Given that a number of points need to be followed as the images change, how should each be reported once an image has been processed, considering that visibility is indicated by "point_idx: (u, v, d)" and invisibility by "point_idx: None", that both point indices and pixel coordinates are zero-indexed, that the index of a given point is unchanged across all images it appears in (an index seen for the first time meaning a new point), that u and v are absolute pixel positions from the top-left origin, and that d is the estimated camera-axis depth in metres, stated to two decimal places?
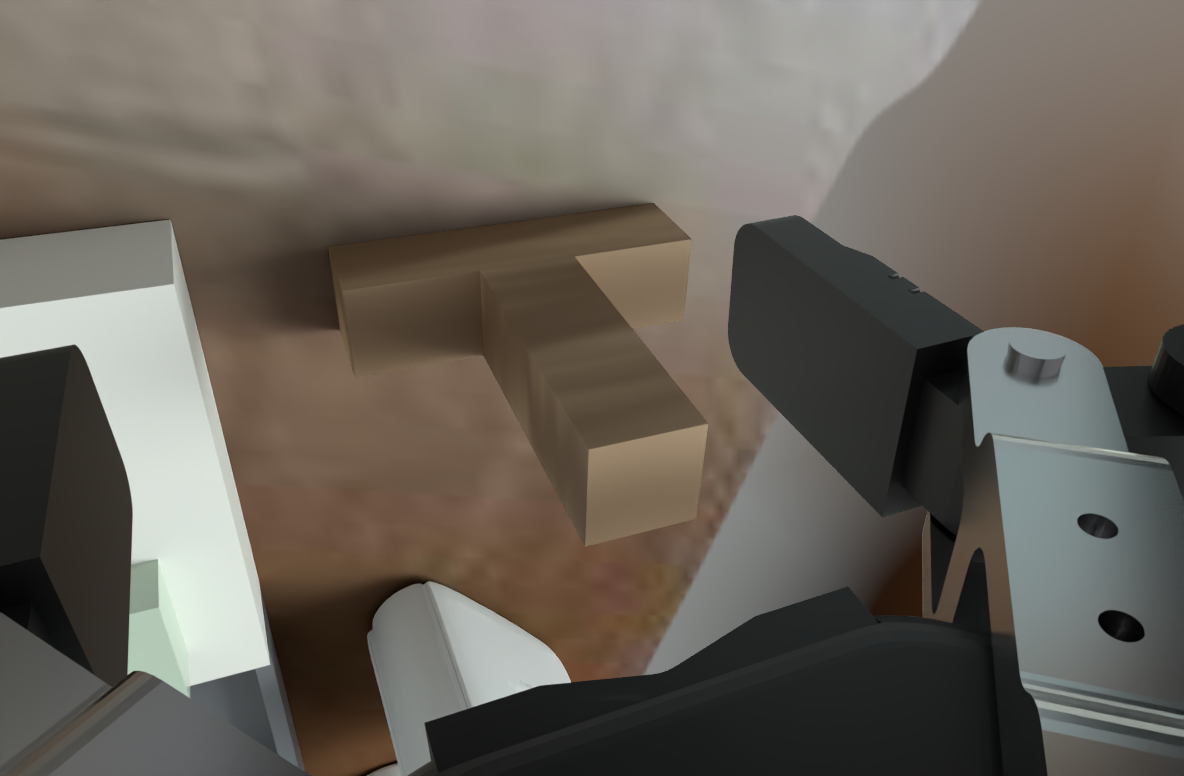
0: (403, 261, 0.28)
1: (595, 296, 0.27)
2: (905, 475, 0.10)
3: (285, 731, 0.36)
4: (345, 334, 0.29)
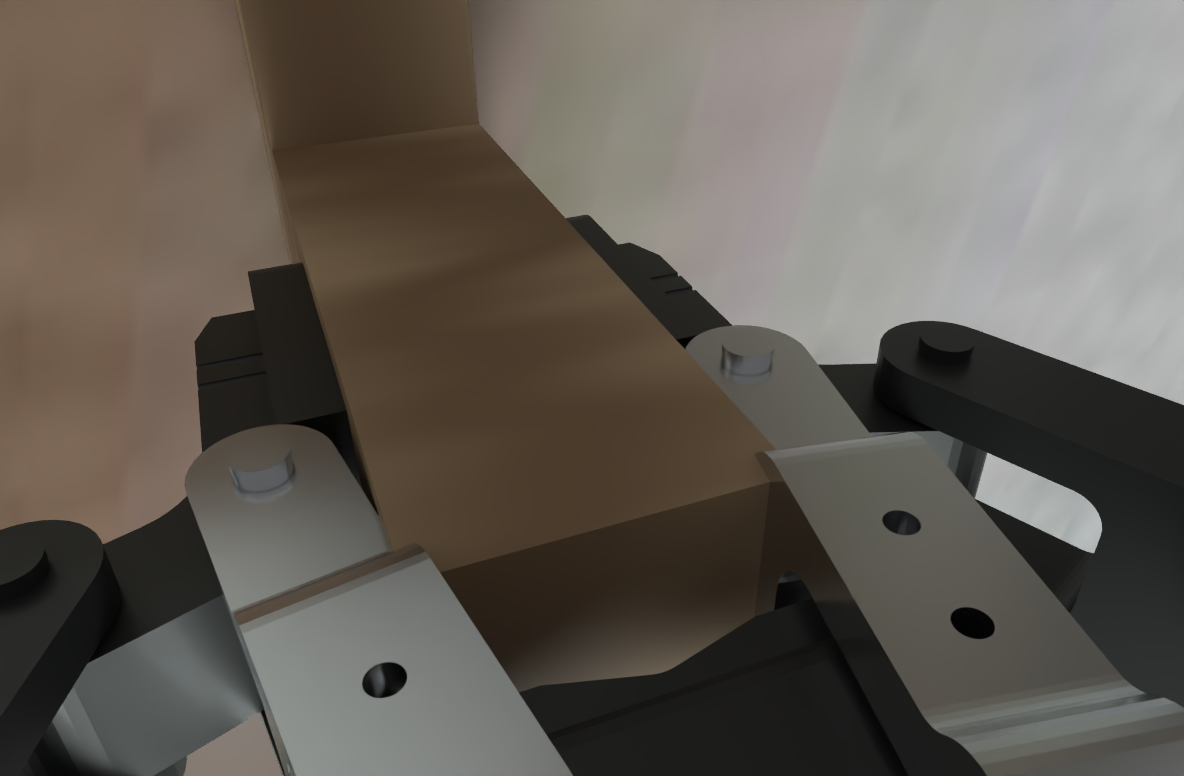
0: None
1: None
2: None
3: None
4: None
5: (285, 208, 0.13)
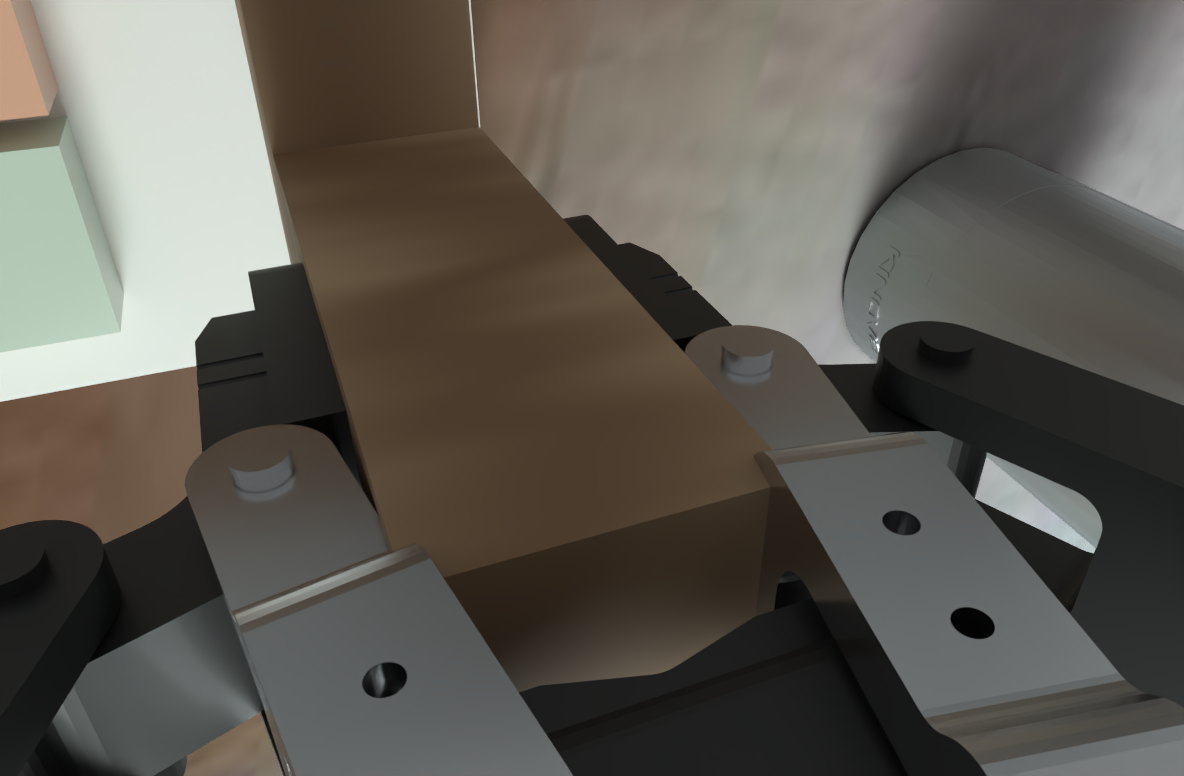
0: None
1: None
2: None
3: None
4: None
5: (286, 212, 0.13)
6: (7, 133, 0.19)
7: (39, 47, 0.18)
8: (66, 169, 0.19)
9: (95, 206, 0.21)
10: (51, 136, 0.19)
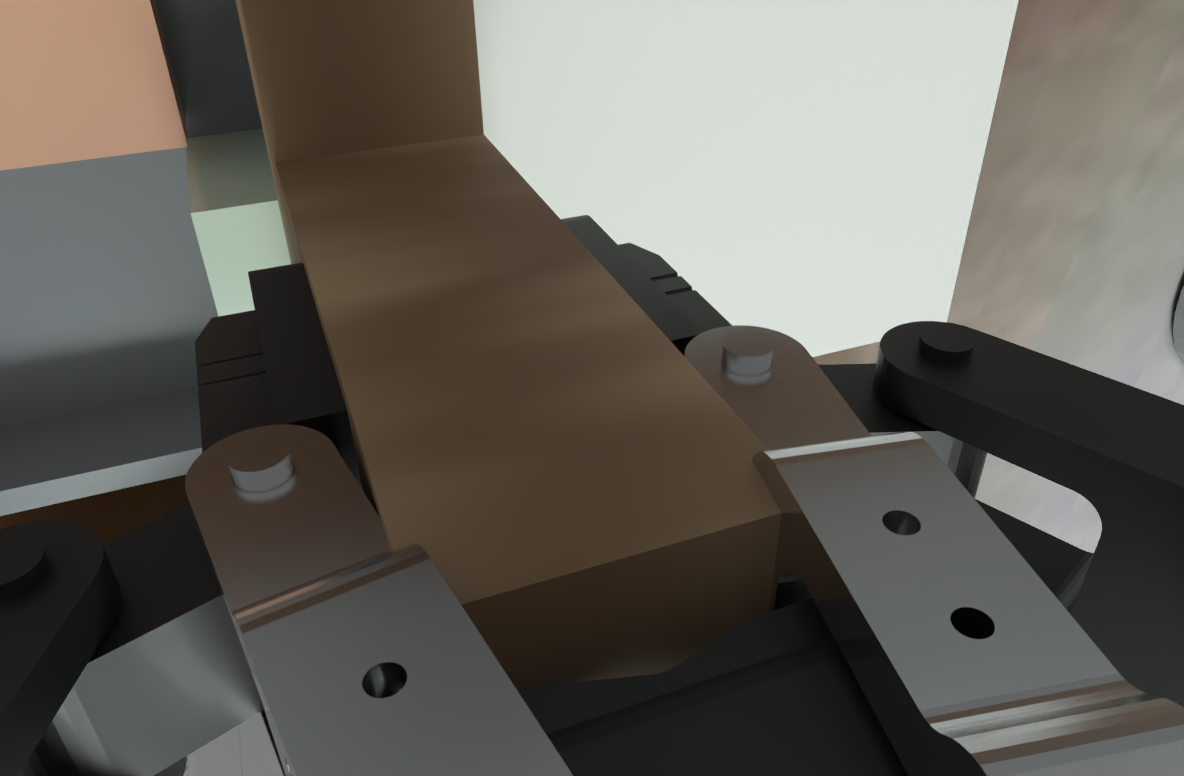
0: None
1: None
2: None
3: (166, 472, 0.20)
4: None
5: (288, 220, 0.13)
6: (257, 182, 0.17)
7: None
8: (201, 239, 0.16)
9: None
10: (232, 203, 0.16)
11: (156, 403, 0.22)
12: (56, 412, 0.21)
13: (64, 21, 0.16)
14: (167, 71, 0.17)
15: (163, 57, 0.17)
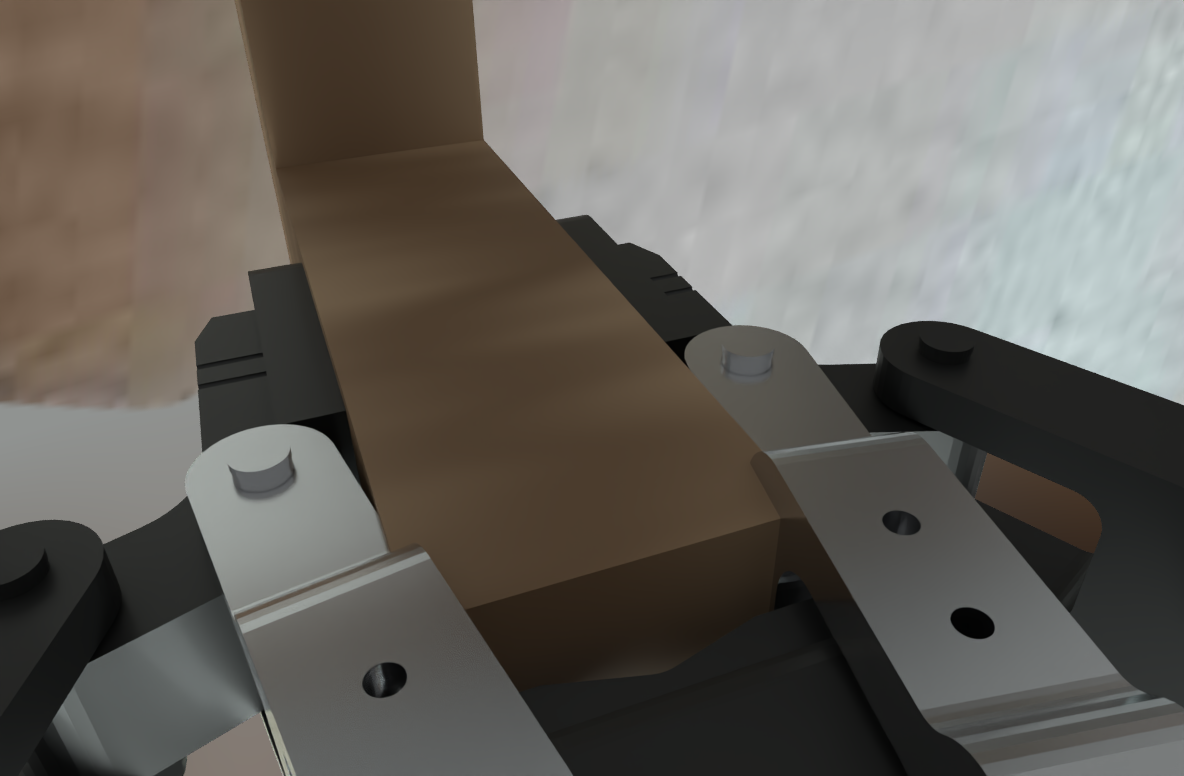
0: None
1: None
2: None
3: None
4: None
5: (289, 226, 0.13)
6: None
7: None
8: None
9: None
10: None
11: None
12: None
13: None
14: None
15: None
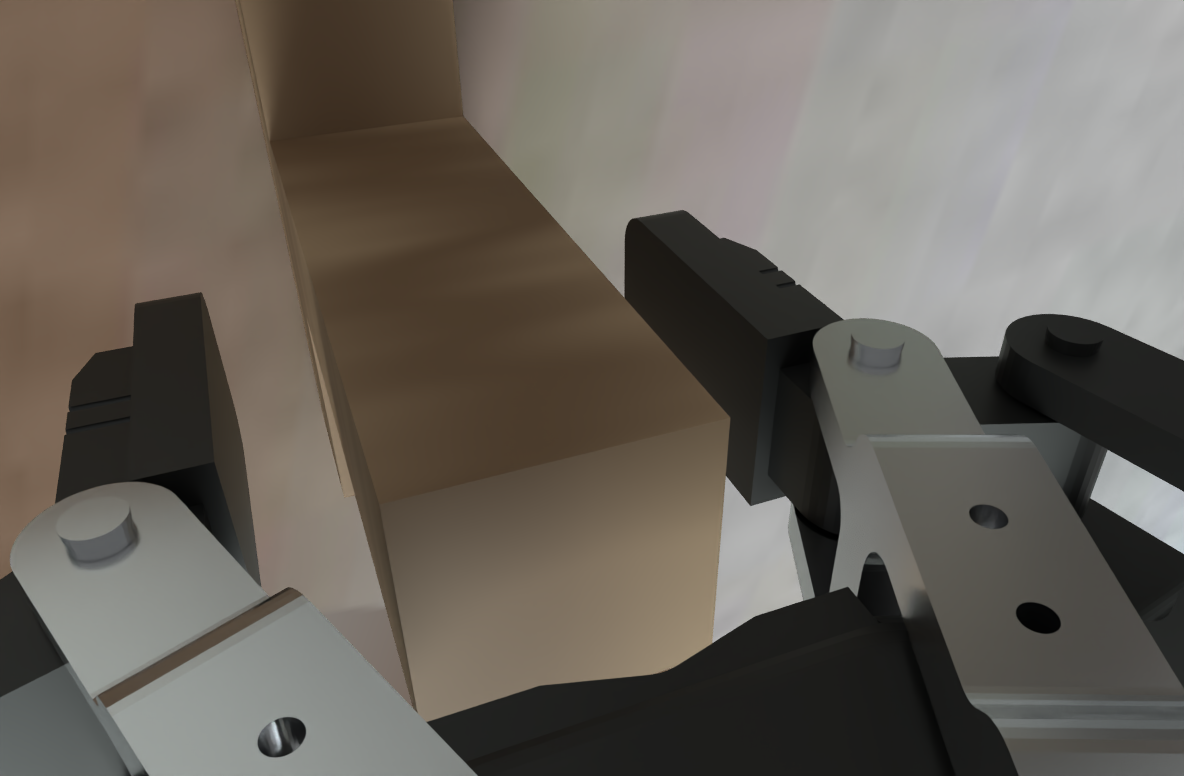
0: None
1: None
2: (768, 464, 0.10)
3: None
4: None
5: (282, 194, 0.14)
6: None
7: None
8: None
9: None
10: None
11: None
12: None
13: None
14: None
15: None
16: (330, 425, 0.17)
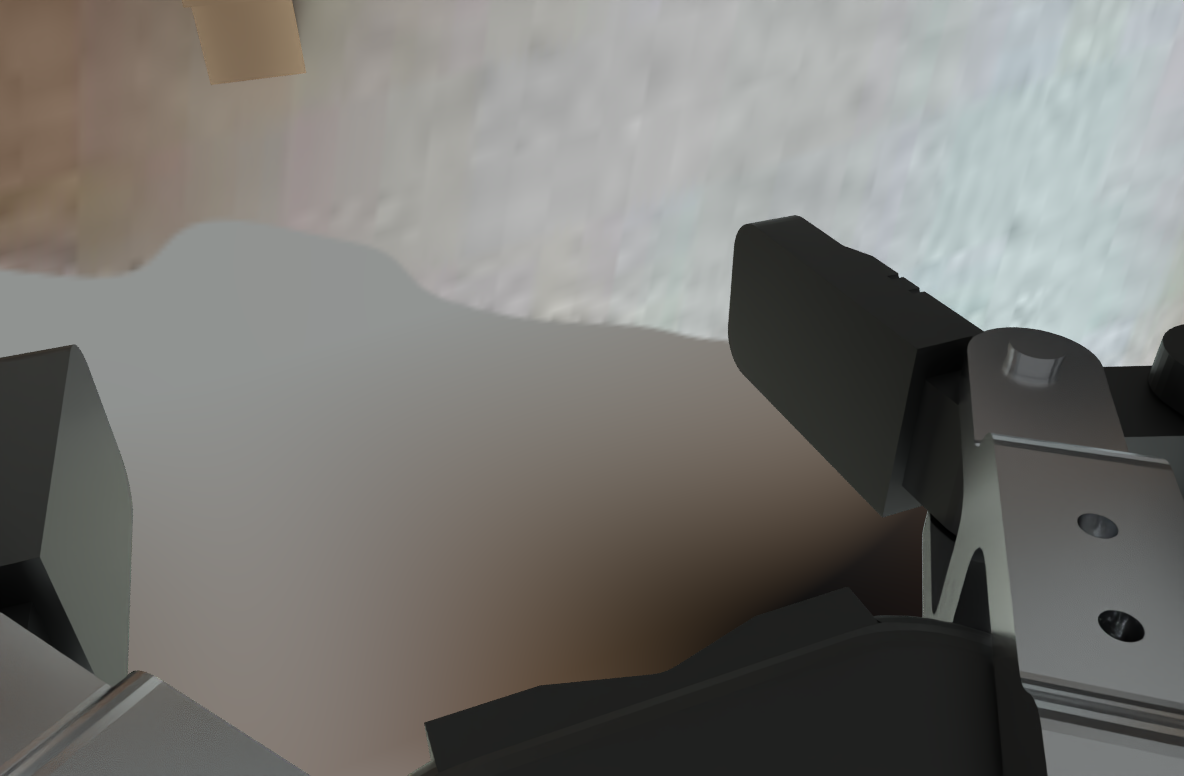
0: None
1: None
2: (905, 475, 0.10)
3: None
4: None
5: None
6: None
7: None
8: None
9: None
10: None
11: None
12: None
13: None
14: None
15: None
16: (197, 29, 0.29)
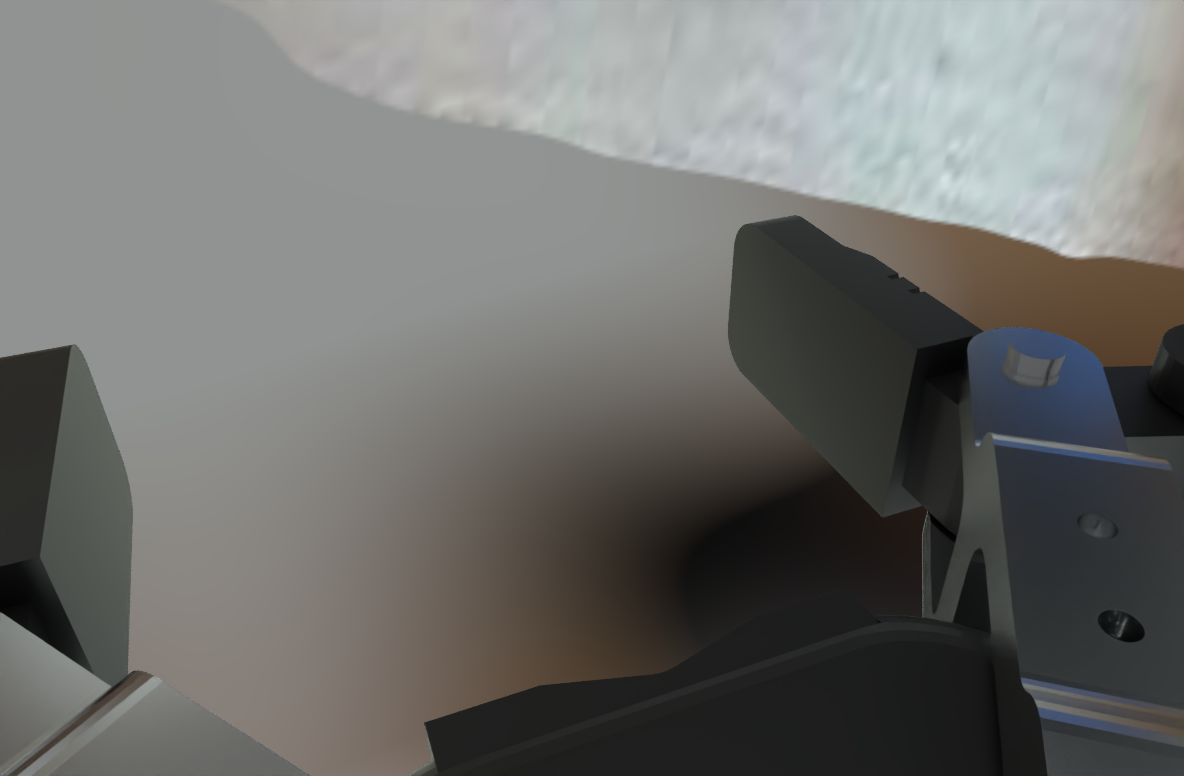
0: None
1: None
2: (905, 475, 0.10)
3: None
4: None
5: None
6: None
7: None
8: None
9: None
10: None
11: None
12: None
13: None
14: None
15: None
16: None
